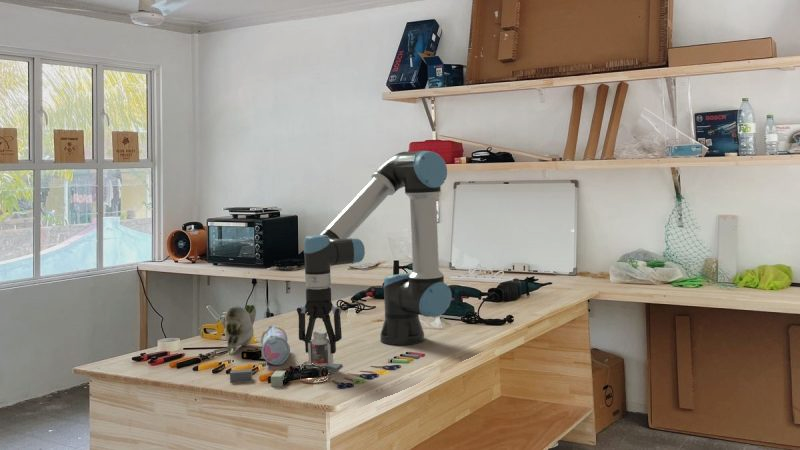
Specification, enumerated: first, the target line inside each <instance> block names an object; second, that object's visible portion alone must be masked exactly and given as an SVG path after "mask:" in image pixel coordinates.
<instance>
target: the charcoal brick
mask: <svg viewBox="0 0 800 450" xmlns="http://www.w3.org/2000/svg"><path fill="white" fill-rule="evenodd" d="M252 381H253V369H252V368H251V369H231V370H230V372H229V383H247V382H248V383H249V382H250V383H252Z"/></svg>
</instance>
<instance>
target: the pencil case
mask: <svg viewBox="0 0 800 450" xmlns="http://www.w3.org/2000/svg"><path fill="white" fill-rule="evenodd" d="M260 344H261V347H262V348H261V351H262V356H263V359H264V360H265V361H266V362H267V363H269V364H271V365H272V366H273V365H274V366H280V365H282V364H284V363H285V362H286V361H287V359H288V358H289V356H290V354H291V347H290V344H289V343H288V335H287V333H286V331H285V330H284V329H283V328H282V327H280V326H278V325H275V324H270V325H267V326H266V328H264V330H263V332H262V334H261V338H260Z"/></svg>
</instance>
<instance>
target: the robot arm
mask: <svg viewBox="0 0 800 450" xmlns="http://www.w3.org/2000/svg"><path fill="white" fill-rule="evenodd" d="M447 177H448V169H447V163H446V161H445V160H444V158H443V157H442V156H441V155H440V154H439V153H437V152H434V151H429V150H418V151H415V150H414V151H401V152H397V153H396V154H394V155H392V156H391V157H390V158H388V159H387V160H386V161H385V162H383V164H381V165H380V166H379V167H378V168H377V169H376V170H375V171H374V173H372V174H371V180H370V181H369V182H368V183H367V185H365V186H364V187H363V188H362V189H361V191H360V192H359V193H358V194H356V196H355V197H354V198H353V199H352V200H351V201H349V203H348V204H347V205H346V206H345V207H344V209H343V210H342V211H340V213H338V215H337V216H336V217H335V218H334V219H333V220H332V221H331V222H330V223H329V224H327V225H328V226H326V228H325V229H324V230H322V231H321V233H320V234H317V235H316V234H315V235H313V234H312V235H311V234H310V235H307V236H306V237H305V238H304V240H303V241H304V243H303V254H304V257H303V258H304V277H305V286H306V287H307V288H306V289H305V304H304V306H299V307H297V308H296V312H297V314H298V340H300V341H302V342H304V345H305V347H304V349H305V353H306V354H308V365H309V364H312V340H313V339H312V336H313V333H314V327H315V324H316V320H317V319H321V320H322V323H324V324H323V325H324V327H325V331H326V332H327V337H328V338H327V339H329V343H328V344H327V347H328V365H331V364H334V354H335V353H336V352H337V343H338V342H339V341H340V340H342V337H343V336H342V323H341V315H342V313H341V312H342V310H343V308H342V307H339V306H338V307H337V306H335V305H333V303H332V287H330V286H331V285H332V283H331V282H332V279H331V277H332V276H331V267H334V266H340V265H347V264H348V265H349V264H351V265H353V264H355V263H360V262H361V261H363V260H364V257H365V254H366V252H365V245H364V242H363V241H362V240H361V239H359V238H351V236H352V235H353V234H354V233H355V232H356V230H357V229H358V228H360V226H361V225H362V224H363V223H364V222H365V221H366V220H367V219H368V218H369V217H370V216H371V214H372V213H373V212H374V211H375V210H376V209H377V208H378V206H380V205H381V204H382V203H383V202H384V200H386V198H387V197H389V196H393V195H394V194H395V193H396V192H397V191H398V190H400V189H402V188H404V194H405V195H406V196H407V197H408V198H409V208H410V229H411V230H410V232H411V235H410V236H411V257H412V260H411V261H412V271H411V272H409V273H407V272H406V273H399V274H398V273H397V274H391V275H386V276H385V277H384V278H383V297H384V299H383V300H384V301H383V302H384V321H383V325H382V328H381V331H380V335H379V336H380V342H381V343H383V344H387V345H395V346H404V345H405V346H407V345H414V344H418V343H422V342H424V341H425V331H424V329H423V326H422V323H421V321H420V316H423V317H426V318H429V317H431V318H438V317H439V316H441V315H443V314H445V312H446V311H447V309H449V307H450V305H451V301H452V295H453V294H452V291H451V288H450V286H448V284H447V283H446V282H445V281H444V278H445V277H444V276H445V275H444V273H443V272H442V271H441V270H440V268H439V266H440V265H439V264H440V263H439V241H438V240H439V238H438V214H437V213H438V212H437V196H439V195H440V193H441V190H442V189H441V186H443V184H444V183H445V181H446V180H447ZM331 311H332V314H333V324H332V322H331V316H330V313H331ZM306 312H307V313H308V314H309V317H308V323H307V327H306ZM419 315H420V316H419ZM333 325H334V327H333Z"/></svg>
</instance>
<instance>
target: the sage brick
mask: <svg viewBox="0 0 800 450" xmlns="http://www.w3.org/2000/svg"><path fill="white" fill-rule="evenodd" d="M285 372H286V373H287V370H275V371H274V372H273V374H271V376H270V386H271V387H282V386H283V385H284V384H283V380H284V376H285Z"/></svg>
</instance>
